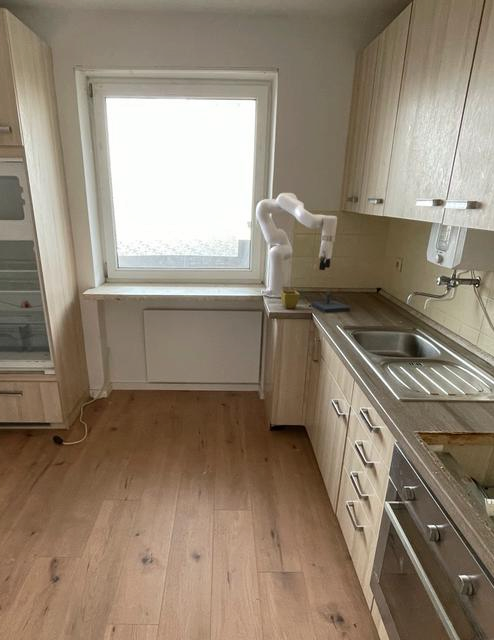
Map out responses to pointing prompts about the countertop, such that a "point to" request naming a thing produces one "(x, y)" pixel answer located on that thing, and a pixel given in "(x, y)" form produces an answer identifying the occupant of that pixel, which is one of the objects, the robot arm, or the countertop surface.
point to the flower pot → (289, 298)
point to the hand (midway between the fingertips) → (324, 268)
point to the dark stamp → (327, 300)
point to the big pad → (331, 307)
